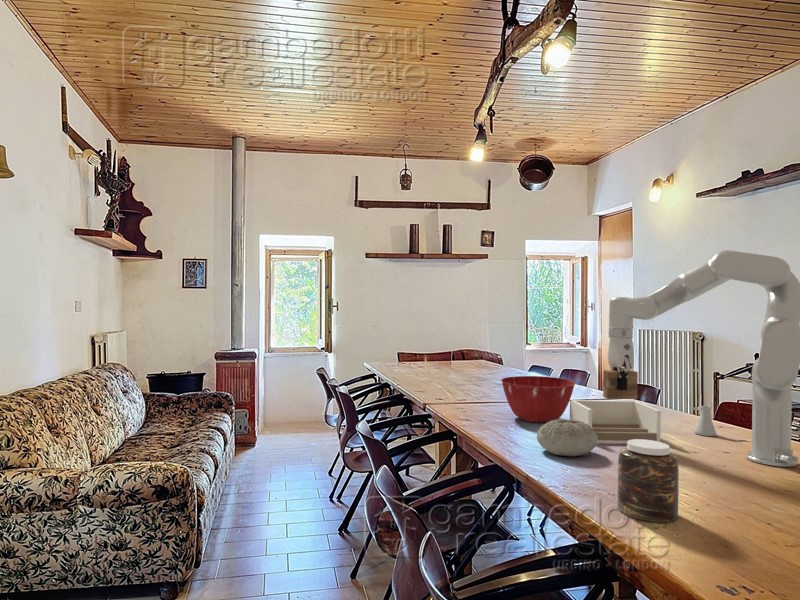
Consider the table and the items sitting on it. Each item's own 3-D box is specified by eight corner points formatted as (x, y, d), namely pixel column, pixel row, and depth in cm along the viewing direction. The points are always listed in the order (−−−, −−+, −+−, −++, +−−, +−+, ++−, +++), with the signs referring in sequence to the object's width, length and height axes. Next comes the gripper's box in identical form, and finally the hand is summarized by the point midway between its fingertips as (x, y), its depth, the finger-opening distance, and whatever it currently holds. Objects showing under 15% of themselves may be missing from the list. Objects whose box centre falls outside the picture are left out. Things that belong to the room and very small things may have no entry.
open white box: (660, 444, 176) (660, 410, 177) (588, 443, 176) (588, 409, 176) (635, 431, 194) (635, 401, 195) (569, 430, 194) (570, 399, 194)
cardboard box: (637, 399, 177) (638, 372, 177) (608, 399, 177) (608, 371, 177) (632, 397, 181) (632, 370, 181) (603, 396, 181) (603, 370, 181)
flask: (710, 432, 195) (711, 405, 195) (721, 437, 188) (721, 408, 188) (690, 431, 196) (690, 404, 196) (699, 436, 189) (700, 408, 189)
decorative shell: (525, 447, 170) (526, 415, 170) (573, 443, 175) (574, 413, 175) (558, 463, 153) (559, 428, 153) (610, 459, 158) (611, 425, 158)
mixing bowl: (542, 431, 192) (543, 388, 192) (485, 416, 215) (486, 378, 215) (589, 422, 209) (590, 382, 209) (531, 409, 232) (532, 374, 232)
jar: (659, 502, 123) (660, 437, 123) (688, 523, 111) (689, 451, 111) (609, 502, 122) (610, 436, 123) (633, 523, 111) (634, 450, 111)
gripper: (643, 335, 171) (641, 393, 171) (620, 332, 188) (619, 385, 188) (620, 335, 171) (618, 392, 171) (599, 332, 188) (598, 384, 188)
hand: (619, 388), depth 179 cm, fingers closed on cardboard box, 3 cm apart
